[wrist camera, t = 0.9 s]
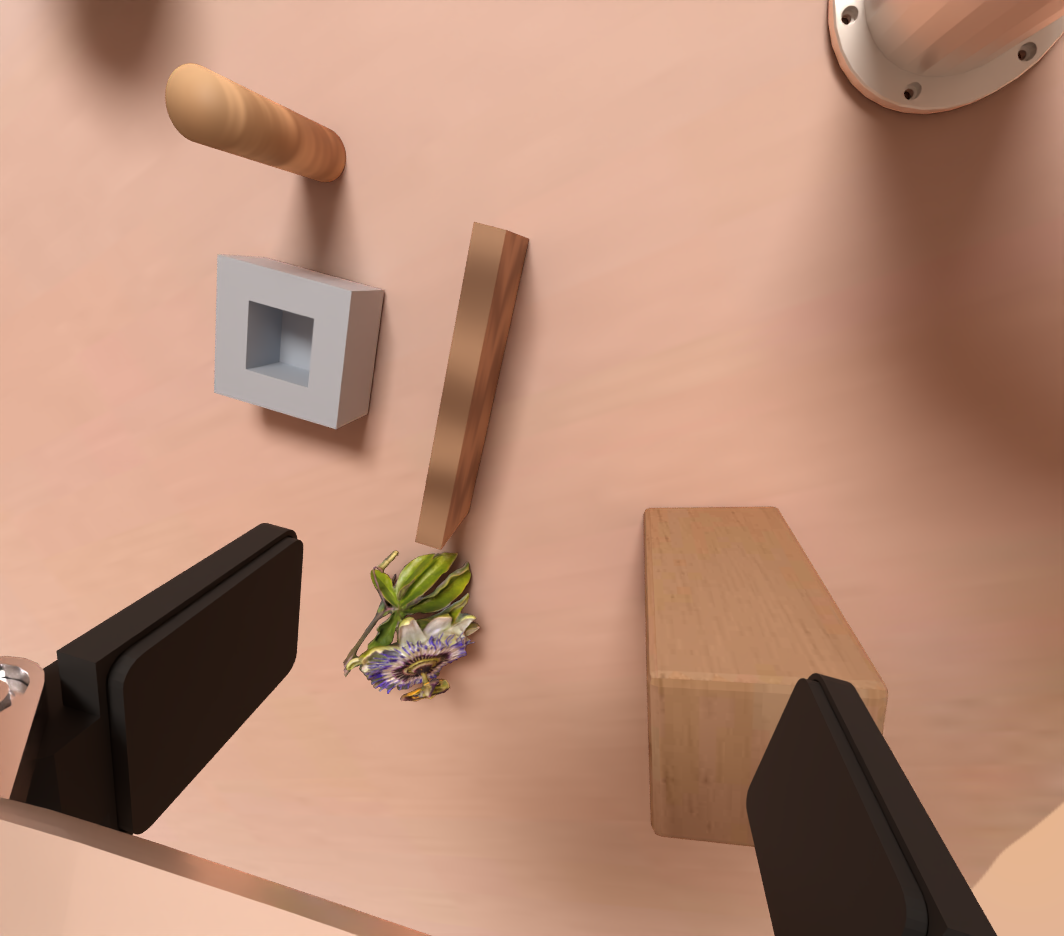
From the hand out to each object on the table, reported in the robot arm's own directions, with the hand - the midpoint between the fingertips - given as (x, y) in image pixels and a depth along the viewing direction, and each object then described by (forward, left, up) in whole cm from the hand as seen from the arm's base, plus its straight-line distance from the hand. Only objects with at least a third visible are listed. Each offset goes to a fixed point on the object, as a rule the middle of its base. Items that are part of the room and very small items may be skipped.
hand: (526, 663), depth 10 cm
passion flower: (+24, -10, -33) cm, 42 cm away
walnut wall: (+3, -9, -32) cm, 34 cm away
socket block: (+3, -23, -32) cm, 40 cm away
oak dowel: (-10, -24, -32) cm, 42 cm away
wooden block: (+12, +12, -33) cm, 37 cm away
